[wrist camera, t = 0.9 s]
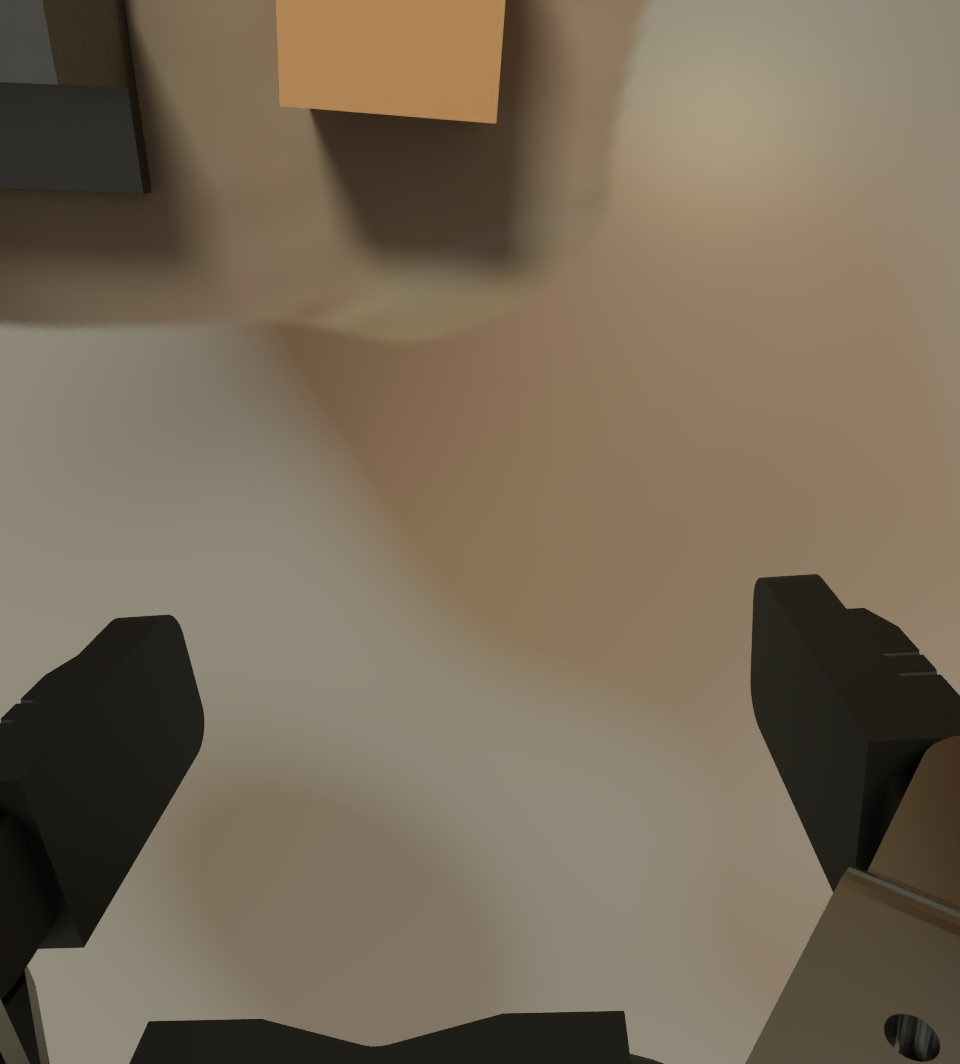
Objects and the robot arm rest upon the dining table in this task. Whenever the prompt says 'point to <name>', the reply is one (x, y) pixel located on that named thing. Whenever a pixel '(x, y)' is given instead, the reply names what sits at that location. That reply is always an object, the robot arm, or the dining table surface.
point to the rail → (69, 98)
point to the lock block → (392, 56)
